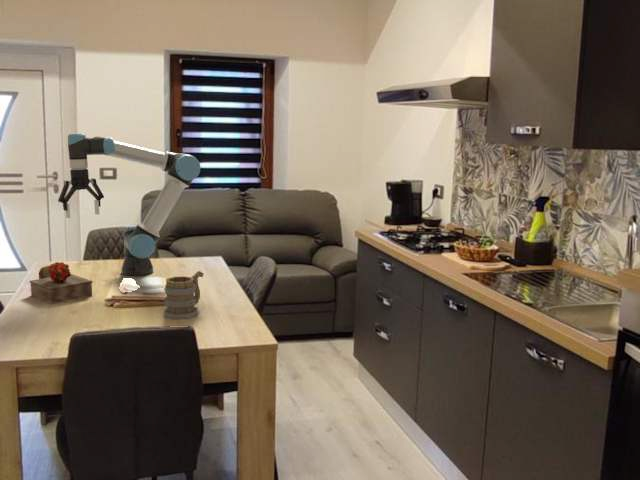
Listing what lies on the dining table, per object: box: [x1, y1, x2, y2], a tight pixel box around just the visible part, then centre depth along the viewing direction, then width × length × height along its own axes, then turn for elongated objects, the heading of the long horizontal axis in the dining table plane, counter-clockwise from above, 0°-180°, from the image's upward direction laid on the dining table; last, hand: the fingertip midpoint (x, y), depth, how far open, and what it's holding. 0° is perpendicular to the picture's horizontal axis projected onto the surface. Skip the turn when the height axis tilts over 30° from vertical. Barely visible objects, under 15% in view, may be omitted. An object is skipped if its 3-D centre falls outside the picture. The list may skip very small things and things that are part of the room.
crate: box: [29, 273, 93, 305], centre depth 277 cm, size 19×19×7 cm
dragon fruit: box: [48, 261, 72, 282], centre depth 275 cm, size 8×8×12 cm
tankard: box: [163, 270, 204, 320], centre depth 255 cm, size 20×13×15 cm, turn 148°
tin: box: [38, 262, 56, 279], centre depth 299 cm, size 15×3×8 cm, turn 168°
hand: (83, 216), depth 295 cm, fingers open, 13 cm apart
